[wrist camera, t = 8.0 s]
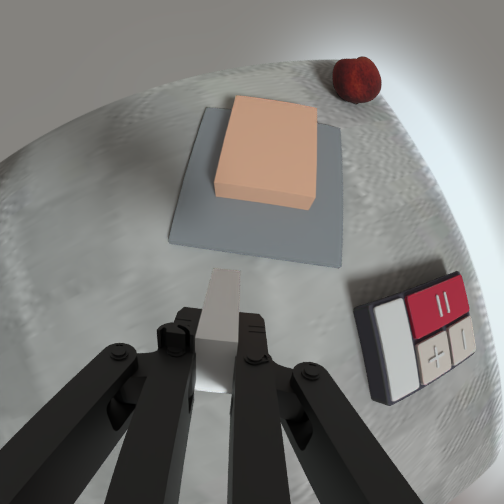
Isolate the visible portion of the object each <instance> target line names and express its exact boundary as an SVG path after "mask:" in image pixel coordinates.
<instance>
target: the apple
mask: <svg viewBox="0 0 504 504" xmlns="http://www.w3.org/2000/svg"><path fill="white" fill-rule="evenodd" d="M333 85H334V88H335V90H336V92H337V93H338V95H339V96H340V97H341V98H342V99H344V100H346V101H348V102H351V103H356V104H358V103H365V102H369V101H371V100H373V99H374V98H375V97H376V96H377V95H378V94H379V92H380V90H381V77H380V74H379V71H378V69H377V67H376V66H375V64H374V63H373V62H372V61H371V60H370V59H368V58H367V57H358V58H357V59H341V60H339V61H338V62H337V63H336V64H335V66H334V69H333Z"/></svg>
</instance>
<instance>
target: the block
mask: <svg viewBox="0 0 504 504" xmlns="http://www.w3.org/2000/svg"><path fill="white" fill-rule="evenodd" d="M316 172H317V108H314V107H309V106H304V105H299V104H294V103H288V102H282V101H276V100H269V99H262V98H255V97H247V96H237V95H236V97H235V101H234V105H233V108H232V112H231V116H230V120H229V123H228V127H227V131H226V135H225V139H224V143H223V147H222V151H221V155H220V159H219V163H218V168H217V172H216V176H215V181H214V186H215V194H216V197H223V198H231V199H238V200H245V201H252V202H259V203H266V204H272V205H279V206H285V207H291V208H297V209H303V210H309V209H310V207H311V205H312V203H313V202H314V200H315V198H316Z"/></svg>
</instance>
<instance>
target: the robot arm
mask: <svg viewBox="0 0 504 504" xmlns="http://www.w3.org/2000/svg"><path fill="white" fill-rule="evenodd" d="M239 294H240V271H237V270H227V269H217V268H213V271H212V275H211V279H210V282H209V286H208V290H207V294H206V297H205V301H204V305H203V309H197V308H189V307H184V308H182V309H181V310H180V311H178V313H177V315H176V318H175V320H174V323H167V324H164V325H162V326H160V327H159V328H158V329H157V340H158V350H157V351H155V352H151V353H137V352H136V350H135V349H134V347H132V346H131V345H129V344H125V343H115V344H111V345H109V346H108V347H106V348H105V349H104V350H103V351H101V352H100V353H99V354H98V355H97V356H96V357H95V358H94V359H93V360H92V361H91V362H90V363H89V364H87V365H86V366H85V367H84V368H83V369H82V370H81V371H80V372H79V373H78V374H77V375H76V376H75V377H74V378H73V379H72V380H70V381H69V382H68V383H67V384H66V385H65V386H64V387H63V388H62V389H61V390H60V391H59V392H58V393H57V394H56V395H55V396H54V397H53V398H52V399H51V400H50V401H49V402H48V403H47V404H45V405H44V406H43V407H42V408H41V409H40V410H39V411H38V412H37V413H36V414H35V415H34V416H33V417H32V418H31V419H30V420H29V421H28V422H27V423H26V424H25V425H24V426H23V427H22V428H21V429H20V430H19V431H18V432H17V433H16V434H15V435H14V436H13V437H12V438H11V439H10V440H9V441H8V442H7V443H6V445H5V446H4V447H3V448H2V449H1V450H0V504H74V503H75V501H76V500H77V498H78V497H79V496H80V494H81V493H82V492H83V490H84V489H85V487H86V486H87V485H88V483H89V482H90V480H91V479H92V478H93V476H94V475H95V473H96V472H97V471H98V469H99V468H100V467H101V465H102V464H103V462H104V461H105V460H106V458H107V457H108V455H109V454H110V453H111V451H112V450H113V448H114V447H115V446H116V444H117V443H118V441H119V440H120V439H121V437H122V436H123V435H124V433H125V432H126V430H127V429H128V430H127V433H126V436H125V439H124V442H123V445H122V448H121V451H120V454H119V457H118V460H117V463H116V466H115V469H114V473H113V476H112V479H111V482H110V486H109V489H108V493H107V496H106V500H105V503H104V504H178V501H179V493H180V486H181V479H182V472H183V465H184V459H185V452H186V446H187V439H188V433H189V427H190V421H191V415H192V409H193V403H194V388H195V390H200V391H209V392H218V393H229V394H232V398H231V406H230V436H229V463H228V495H227V504H291V502H290V494H289V485H288V477H287V469H286V461H285V453H284V445H283V437H282V429H281V424H282V426H283V428H284V430H285V432H286V434H287V437H288V439H289V441H290V443H291V445H292V447H293V449H294V452H295V454H296V456H297V458H298V460H299V462H300V464H301V466H302V468H303V470H304V472H305V474H306V476H307V478H308V480H309V482H310V484H311V486H312V488H313V490H314V492H315V494H316V496H317V498H318V500H319V502H320V504H423V503H422V501H421V500H420V499H419V497H418V496H417V494H416V493H415V492H414V490H413V489H412V488H411V486H410V485H409V484H408V482H407V481H406V479H405V478H404V477H403V475H402V474H401V473H400V471H399V470H398V469H397V467H396V466H395V464H394V463H393V462H392V460H391V459H390V458H389V456H388V455H387V453H386V452H385V451H384V449H383V448H382V447H381V445H380V444H379V442H378V441H377V440H376V438H375V437H374V436H373V434H372V433H371V431H370V430H369V429H368V427H367V426H366V424H365V423H364V422H363V420H362V419H361V417H360V416H359V415H358V413H357V412H356V411H355V409H354V408H353V406H352V405H351V404H350V402H349V401H348V399H347V398H346V397H345V395H344V394H343V392H342V391H341V390H340V388H339V387H338V385H337V384H336V383H335V381H334V380H333V378H332V377H331V376H330V374H329V373H328V371H327V370H326V369H325V368H324V367H323V366H321V365H319V364H316V363H312V362H303V363H299V364H297V365H296V366H295V367H294V369H291V368H287V367H284V366H281V365H278V364H277V363H275V362H274V361H273V360H272V358H271V356H270V355H269V354H268V347H267V339H266V331H265V322H264V319H263V318H262V317H261V316H260V314H254V313H243V312H239Z"/></svg>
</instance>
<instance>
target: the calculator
mask: <svg viewBox="0 0 504 504" xmlns="http://www.w3.org/2000/svg"><path fill="white" fill-rule="evenodd" d="M353 312H354V317H355V321H356V325H357V329H358V334H359V338H360V343H361V347H362V352H363V357H364V362H365V367H366V372H367V377H368V382H369V388H370V394H371V399H372V400H373V401H376V402H379V403H382V404H385V405H388V406H391V405H393V404H395V403H397V402H399V401H401V400H403V399H404V398H406V397H408V396H410V395H412V394H413V393H415V392H417V391H419V390H420V389H422V388H424V387H425V386H427V385H429V384H430V383H432V382H434V381H435V380H437V379H438V378H440V377H441V376H443V375H444V374H446V373H447V372H449V371H450V370H452V369H453V368H455V367H456V366H458V365H459V364H461V363H462V362H463V361H465V360H466V359H467V358H469V357H470V356H471V355H473V354H474V352H475V350H476V345H475V338H474V332H473V325H472V320H471V316H470V315H469V304H468V300H467V295H466V291H465V287H464V283H463V279H462V276H461V275H460V273H459V272H458V271H456V272H453V273H450V274H448V275H445V276H442V277H440V278H437V279H435V280H432V281H430V282H427V283H424V284H422V285H419V286H417V287H414V288H411V289H408V290H406V291H403V292H400V293H397V294H394V295H392V296H389V297H385V298H382V299H379V300H376V301H373V302H370V303H367V304H364V305H361V306H358V307H355V308H354V310H353Z"/></svg>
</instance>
